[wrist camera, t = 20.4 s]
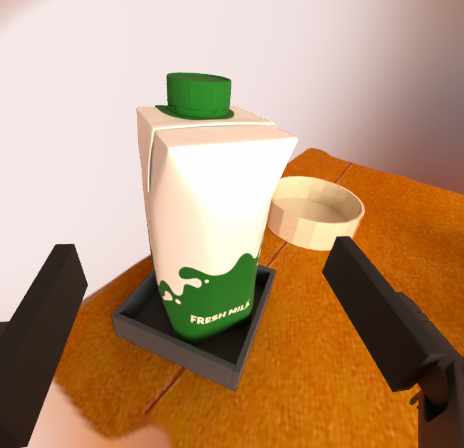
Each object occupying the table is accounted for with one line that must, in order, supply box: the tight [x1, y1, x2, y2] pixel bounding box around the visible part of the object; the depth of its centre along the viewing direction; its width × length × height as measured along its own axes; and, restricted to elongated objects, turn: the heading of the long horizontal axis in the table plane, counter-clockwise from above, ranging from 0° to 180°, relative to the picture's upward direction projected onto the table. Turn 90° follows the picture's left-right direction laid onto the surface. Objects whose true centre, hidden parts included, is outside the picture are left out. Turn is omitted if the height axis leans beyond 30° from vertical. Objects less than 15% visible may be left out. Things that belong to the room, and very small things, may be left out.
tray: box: [111, 265, 276, 391], centre depth 26 cm, size 12×12×3 cm
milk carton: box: [137, 73, 298, 346], centre depth 20 cm, size 9×9×20 cm
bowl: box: [266, 176, 365, 250], centre depth 40 cm, size 14×14×4 cm
